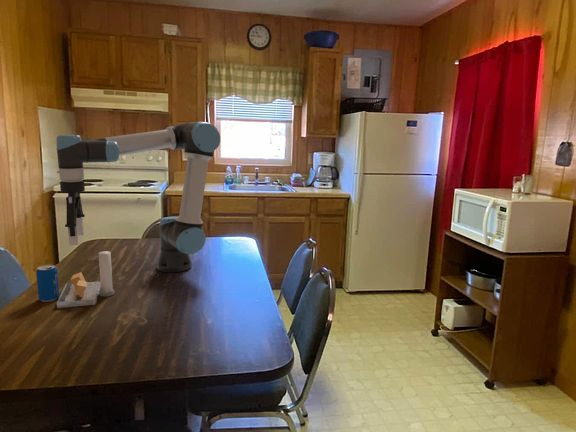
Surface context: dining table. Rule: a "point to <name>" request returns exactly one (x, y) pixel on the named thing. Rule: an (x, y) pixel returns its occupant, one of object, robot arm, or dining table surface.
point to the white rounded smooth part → (105, 274)
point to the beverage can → (47, 283)
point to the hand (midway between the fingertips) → (77, 239)
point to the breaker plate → (87, 299)
